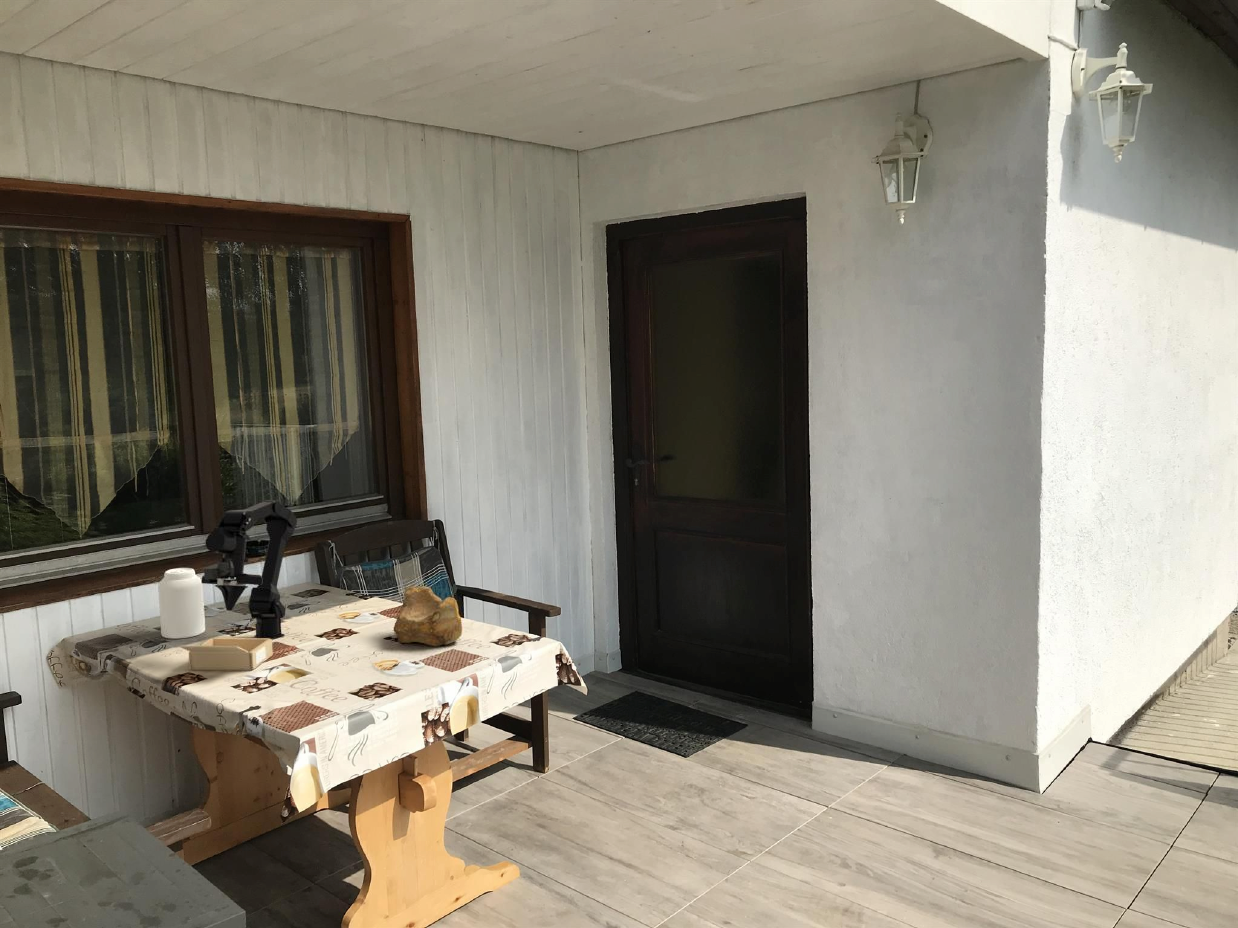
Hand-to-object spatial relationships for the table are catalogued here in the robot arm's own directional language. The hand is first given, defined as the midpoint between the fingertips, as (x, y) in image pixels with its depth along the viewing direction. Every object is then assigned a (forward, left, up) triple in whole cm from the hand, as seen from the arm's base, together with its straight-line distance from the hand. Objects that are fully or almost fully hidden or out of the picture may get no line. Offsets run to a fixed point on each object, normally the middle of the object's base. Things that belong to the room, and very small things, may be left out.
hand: (229, 610), depth 277 cm
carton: (+2, +4, -14) cm, 14 cm away
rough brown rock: (-43, +31, -14) cm, 55 cm away
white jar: (-4, -35, -14) cm, 38 cm away
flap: (+7, +8, -9) cm, 14 cm away
